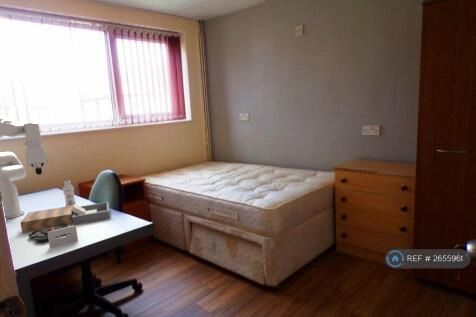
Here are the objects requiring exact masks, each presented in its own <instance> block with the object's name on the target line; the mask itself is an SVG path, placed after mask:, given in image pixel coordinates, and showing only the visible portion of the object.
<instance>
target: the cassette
mask: <svg viewBox="0 0 476 317" xmlns="http://www.w3.org/2000/svg"><path fill="white" fill-rule="evenodd" d="M47 233H48V239H49V241H48V246H49V248H50V249H51V248H57V247H60V246H65V245H68V244H71V243H75V242H78V241H79V236H78V231H77V226H76V224H75V225H69V227H66V228H62V229H57V230H53V231H49V232H47ZM69 233H70V234H69ZM64 234H66V235H65V236H61V237H60V235H64ZM56 236H58V238H56Z"/></svg>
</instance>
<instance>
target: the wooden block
mask: <svg viewBox="0 0 476 317" xmlns="http://www.w3.org/2000/svg"><path fill="white" fill-rule="evenodd" d="M72 207H73V206H67V207H65V206H61V207H54V208H47V209H43V210H35V211H30V212H28V213H27V214H26V215H25V216H24V218H23V219H22V220H21V221H20V228H21V233H22V234H27V233H32V231H33V232H34V231H38V230H41V229H45V228H47V227H51V226H55V225H58V224H67V225H69V226H73V220H72V216H73V213H74V212H73V211H71V208H72ZM26 232H27V233H26Z"/></svg>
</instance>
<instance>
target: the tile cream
mask: <svg viewBox="0 0 476 317" xmlns="http://www.w3.org/2000/svg"><path fill="white" fill-rule="evenodd" d="M71 211H73V212H75V213H77V214H79V215H83V214H84V213H85V209H84V208H82V207H80V206H79V205H78V204H77V203H76V204H74V205H73V207H72V208H71Z"/></svg>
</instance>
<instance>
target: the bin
mask: <svg viewBox="0 0 476 317" xmlns="http://www.w3.org/2000/svg"><path fill="white" fill-rule="evenodd" d="M80 207H82V208H84V209H85V211H89V210H95V209H97V213H91V214H85V215H79V214H77V213H75V212H74V213H73V216H72V220H73V224H72V226H74V225H75V226H76V225H79V224H86V223H91V222H97V221H103V220H102V219H104V220H107V219H106V218H109V219H110V218H111V216H110V215H111V214H110V204H109V201H105V202H99V203H93V204H87V205H81V206H80Z"/></svg>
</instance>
